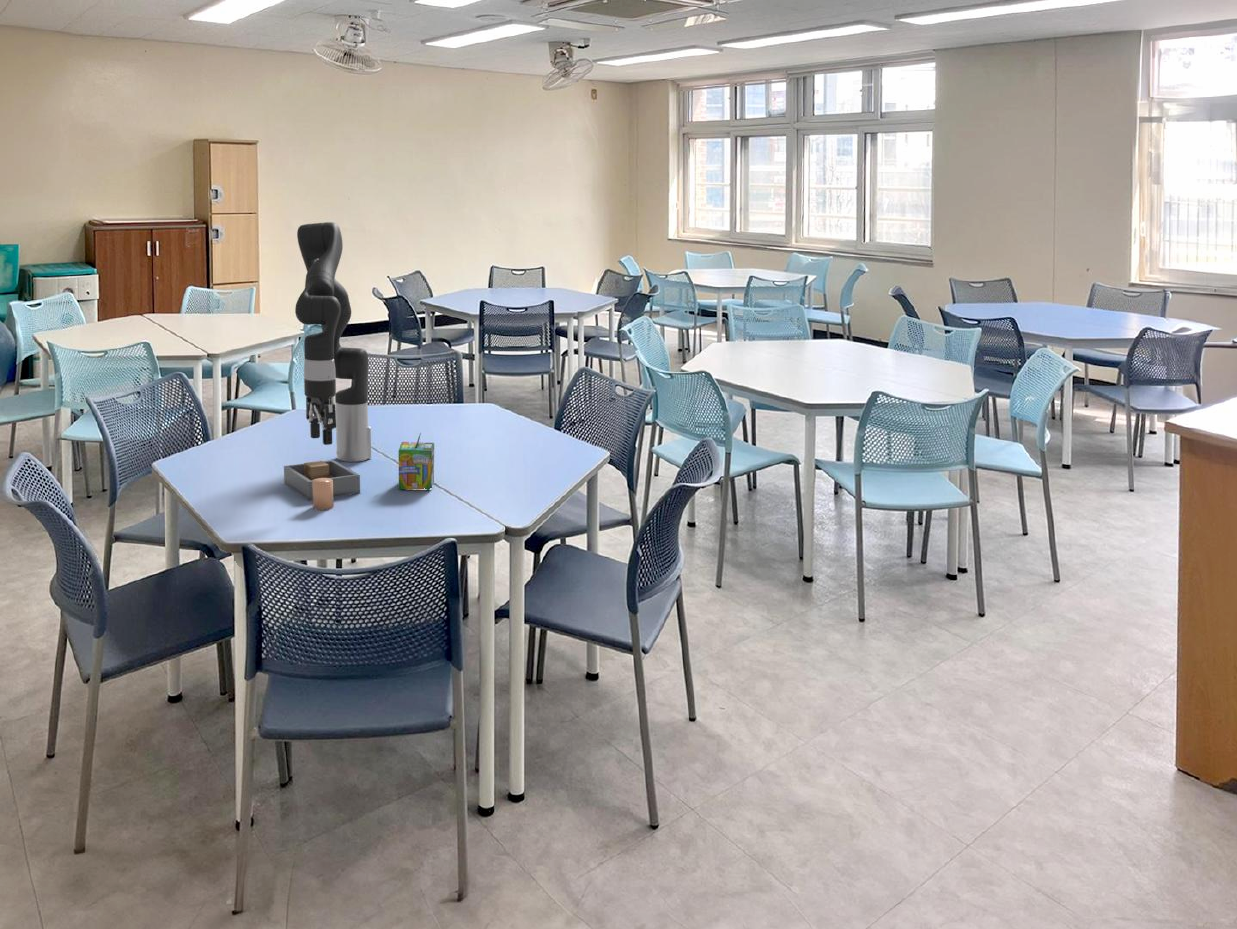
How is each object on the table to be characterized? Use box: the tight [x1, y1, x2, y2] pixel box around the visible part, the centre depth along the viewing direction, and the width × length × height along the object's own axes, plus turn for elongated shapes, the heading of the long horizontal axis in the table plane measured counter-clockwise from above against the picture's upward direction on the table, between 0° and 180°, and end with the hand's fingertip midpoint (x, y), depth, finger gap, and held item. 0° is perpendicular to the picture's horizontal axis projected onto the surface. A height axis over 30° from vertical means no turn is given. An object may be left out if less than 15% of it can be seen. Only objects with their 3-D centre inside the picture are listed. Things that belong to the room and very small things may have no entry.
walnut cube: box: [303, 460, 329, 480], centre depth 289 cm, size 5×5×5 cm
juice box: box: [398, 432, 435, 491], centre depth 291 cm, size 9×9×15 cm
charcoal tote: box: [283, 459, 361, 501], centre depth 286 cm, size 14×18×5 cm
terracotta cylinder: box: [312, 478, 335, 511], centre depth 270 cm, size 5×5×7 cm
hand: (321, 441), depth 267 cm, fingers open, 8 cm apart
